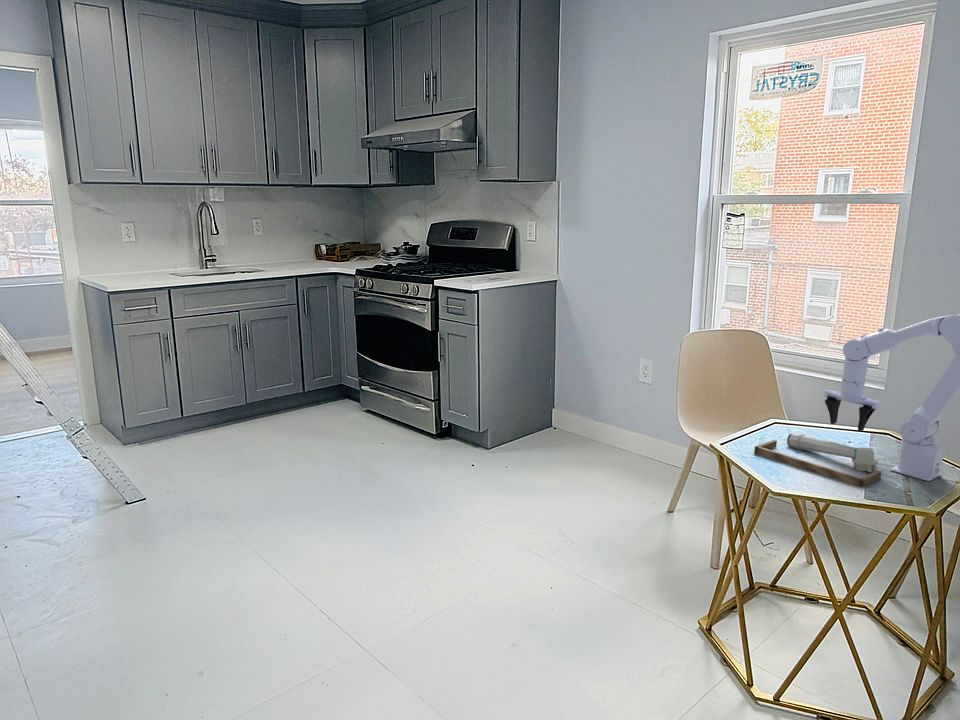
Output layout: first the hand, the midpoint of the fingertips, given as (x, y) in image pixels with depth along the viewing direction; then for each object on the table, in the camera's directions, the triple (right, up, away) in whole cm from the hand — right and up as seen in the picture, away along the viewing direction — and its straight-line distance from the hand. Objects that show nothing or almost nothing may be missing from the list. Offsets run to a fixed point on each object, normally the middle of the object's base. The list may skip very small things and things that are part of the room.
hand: (846, 426), depth 196 cm
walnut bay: (-13, -10, -8) cm, 18 cm away
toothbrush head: (-6, -9, -3) cm, 11 cm away
